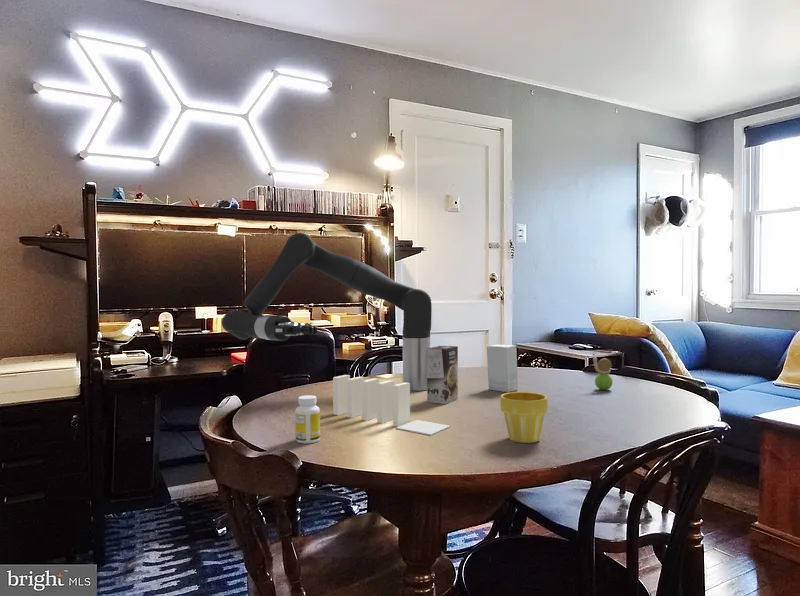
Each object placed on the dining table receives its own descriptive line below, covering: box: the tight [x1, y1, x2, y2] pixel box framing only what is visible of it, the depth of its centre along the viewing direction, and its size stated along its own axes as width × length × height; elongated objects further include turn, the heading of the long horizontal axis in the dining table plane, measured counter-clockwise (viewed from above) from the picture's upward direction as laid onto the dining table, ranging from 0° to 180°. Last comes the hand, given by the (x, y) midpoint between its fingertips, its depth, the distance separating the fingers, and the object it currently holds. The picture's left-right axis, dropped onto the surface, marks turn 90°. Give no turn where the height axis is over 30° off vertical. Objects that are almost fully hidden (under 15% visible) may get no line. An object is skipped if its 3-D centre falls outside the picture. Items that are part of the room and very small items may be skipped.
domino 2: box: [346, 376, 365, 419], centre depth 143 cm, size 2×5×10 cm, turn 144°
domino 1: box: [332, 374, 351, 416], centre depth 146 cm, size 2×5×10 cm, turn 144°
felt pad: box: [395, 419, 452, 436], centre depth 131 cm, size 10×9×1 cm
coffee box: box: [426, 345, 459, 405], centre depth 162 cm, size 9×6×16 cm
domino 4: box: [376, 379, 395, 425], centre depth 138 cm, size 2×5×10 cm, turn 144°
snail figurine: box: [592, 353, 613, 391], centre depth 177 cm, size 5×6×12 cm
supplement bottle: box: [294, 395, 321, 444], centre depth 121 cm, size 5×5×10 cm
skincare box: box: [486, 343, 519, 393], centre depth 177 cm, size 8×6×15 cm
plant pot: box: [500, 391, 549, 444], centre depth 121 cm, size 10×10×10 cm
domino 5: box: [392, 382, 411, 427], centre depth 135 cm, size 2×5×10 cm, turn 144°
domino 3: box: [361, 378, 380, 422], centre depth 140 cm, size 2×5×10 cm, turn 144°
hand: (314, 330), depth 152 cm, fingers closed
